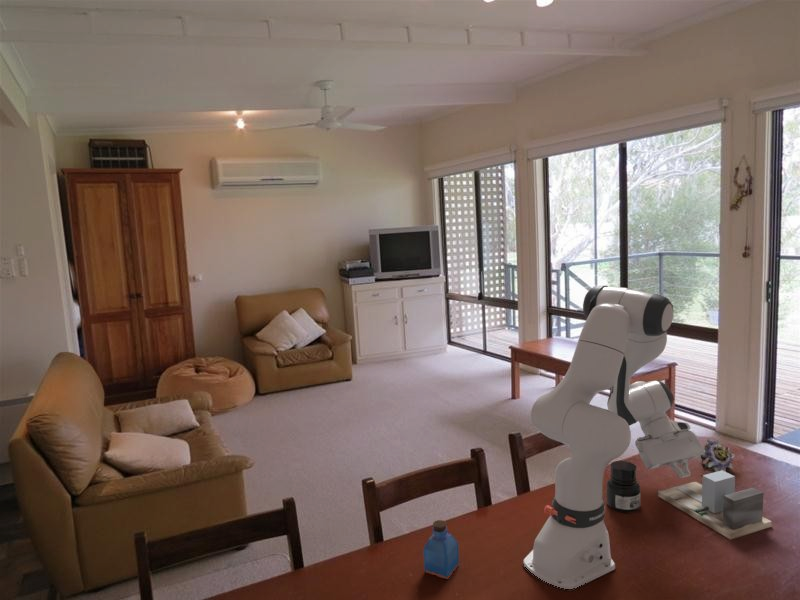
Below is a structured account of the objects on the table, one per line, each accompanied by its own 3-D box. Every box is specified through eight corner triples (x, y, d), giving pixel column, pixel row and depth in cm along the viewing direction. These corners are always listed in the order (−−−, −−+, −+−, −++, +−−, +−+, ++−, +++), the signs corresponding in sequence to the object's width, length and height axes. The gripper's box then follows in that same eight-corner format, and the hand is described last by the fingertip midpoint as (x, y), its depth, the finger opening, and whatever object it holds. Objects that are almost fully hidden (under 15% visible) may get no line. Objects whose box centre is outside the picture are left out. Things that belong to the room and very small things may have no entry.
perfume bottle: (447, 580, 131) (445, 533, 129) (424, 572, 134) (422, 527, 132) (459, 565, 136) (457, 520, 134) (436, 558, 139) (434, 514, 138)
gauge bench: (658, 496, 163) (658, 465, 161) (695, 486, 167) (695, 456, 165) (730, 539, 140) (731, 504, 139) (771, 526, 144) (772, 492, 143)
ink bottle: (620, 516, 153) (620, 476, 151) (598, 502, 161) (598, 463, 159) (648, 508, 156) (648, 468, 154) (626, 494, 164) (626, 456, 163)
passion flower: (721, 489, 174) (713, 468, 168) (690, 470, 183) (682, 449, 177) (744, 465, 176) (737, 443, 170) (713, 447, 185) (705, 425, 179)
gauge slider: (690, 509, 151) (691, 478, 149) (721, 500, 154) (722, 470, 153) (707, 519, 146) (708, 487, 144) (738, 510, 149) (740, 478, 148)
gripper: (638, 434, 163) (663, 480, 155) (692, 422, 169) (719, 465, 162) (627, 443, 168) (651, 488, 160) (680, 431, 174) (706, 473, 167)
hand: (685, 476), depth 161 cm, fingers closed
